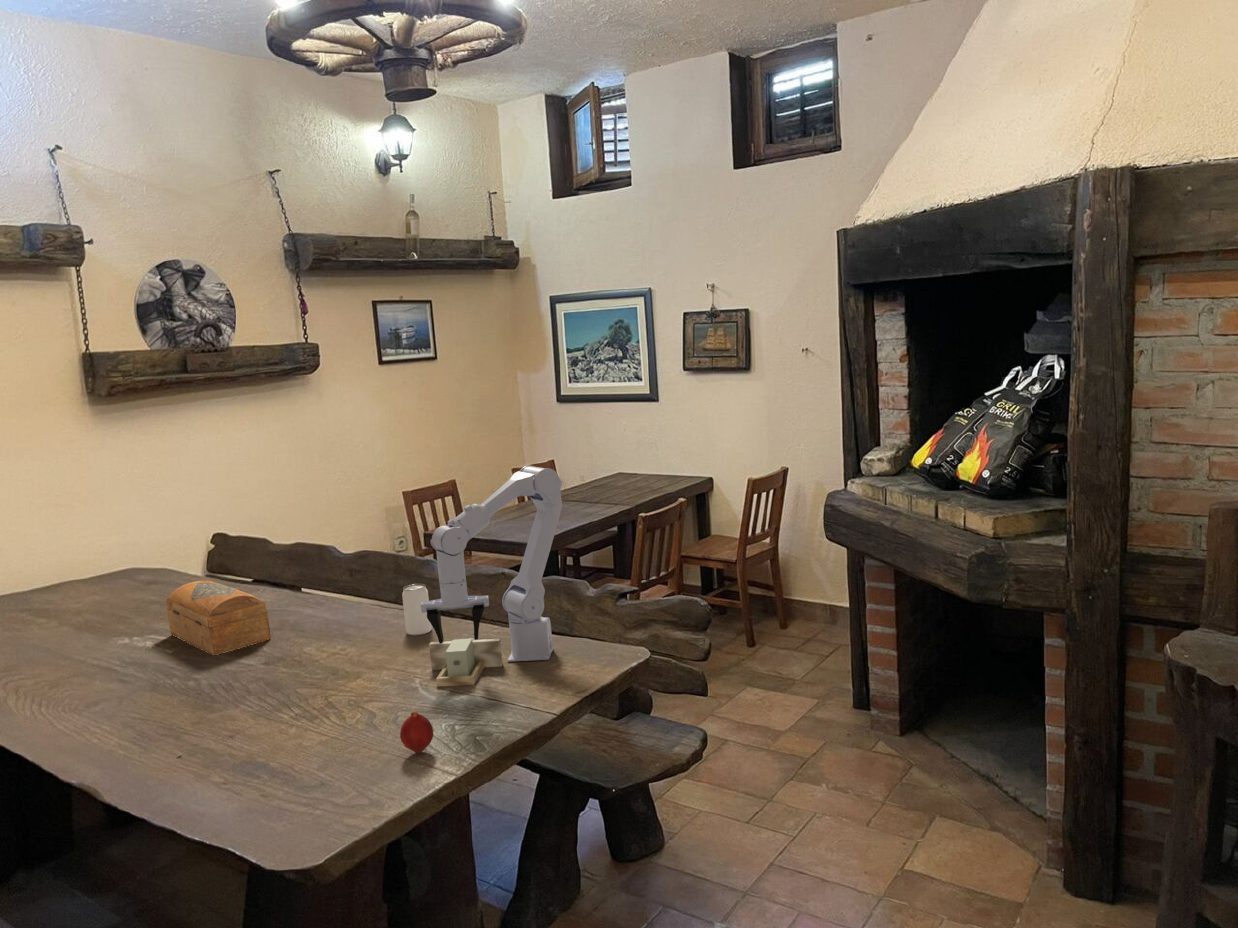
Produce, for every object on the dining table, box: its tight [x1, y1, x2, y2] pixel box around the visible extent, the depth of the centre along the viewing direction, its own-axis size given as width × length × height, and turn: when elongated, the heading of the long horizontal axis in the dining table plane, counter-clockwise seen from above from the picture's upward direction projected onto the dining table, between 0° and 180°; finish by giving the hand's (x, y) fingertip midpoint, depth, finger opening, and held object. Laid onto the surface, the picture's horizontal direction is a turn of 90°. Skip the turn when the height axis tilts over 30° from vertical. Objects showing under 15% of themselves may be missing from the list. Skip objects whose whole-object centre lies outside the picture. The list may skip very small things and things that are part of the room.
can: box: [401, 583, 433, 636], centre depth 232 cm, size 6×6×12 cm
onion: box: [399, 710, 434, 754], centre depth 162 cm, size 6×6×8 cm
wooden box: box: [166, 579, 272, 655], centre depth 240 cm, size 30×16×14 cm, turn 44°
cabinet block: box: [446, 638, 475, 677], centre depth 199 cm, size 4×8×7 cm, turn 179°
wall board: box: [428, 638, 503, 687], centre depth 199 cm, size 16×12×6 cm
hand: (459, 640), depth 199 cm, fingers open, 7 cm apart
